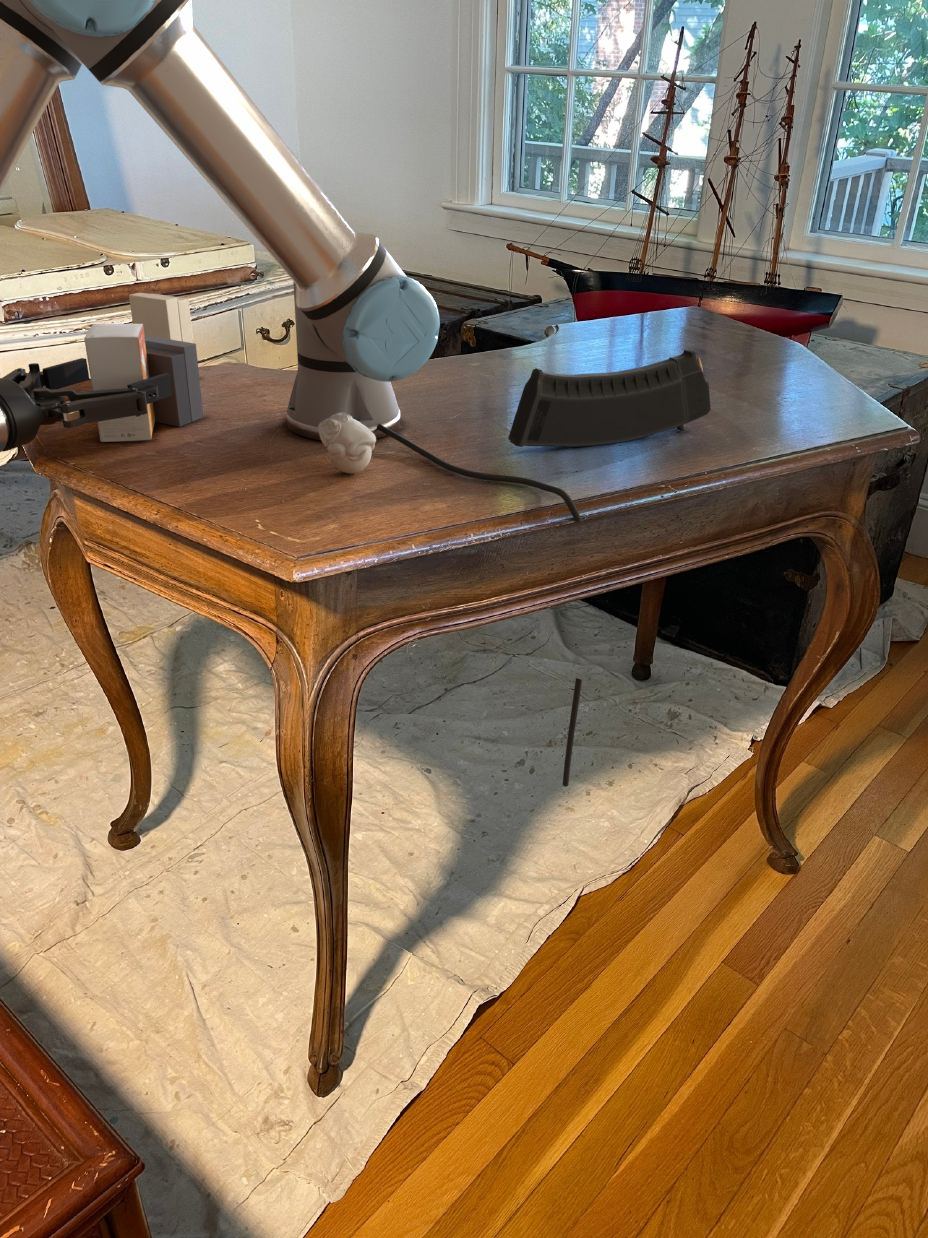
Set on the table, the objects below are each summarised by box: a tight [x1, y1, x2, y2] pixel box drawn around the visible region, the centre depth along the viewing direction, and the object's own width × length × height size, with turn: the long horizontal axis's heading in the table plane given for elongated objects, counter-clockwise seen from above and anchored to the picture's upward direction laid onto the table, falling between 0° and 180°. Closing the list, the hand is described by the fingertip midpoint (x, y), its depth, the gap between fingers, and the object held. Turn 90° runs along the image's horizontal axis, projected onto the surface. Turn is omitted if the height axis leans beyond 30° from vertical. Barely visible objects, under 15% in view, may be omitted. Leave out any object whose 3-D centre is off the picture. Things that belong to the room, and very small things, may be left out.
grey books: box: [145, 336, 205, 427], centre depth 123 cm, size 8×5×10 cm, turn 65°
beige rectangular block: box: [128, 292, 194, 343], centre depth 139 cm, size 7×5×12 cm
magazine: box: [507, 348, 712, 448], centre depth 121 cm, size 17×3×30 cm
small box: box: [83, 323, 156, 443], centre depth 116 cm, size 8×6×13 cm
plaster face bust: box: [318, 413, 377, 474], centre depth 108 cm, size 6×7×7 cm
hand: (126, 376), depth 117 cm, fingers open, 13 cm apart
